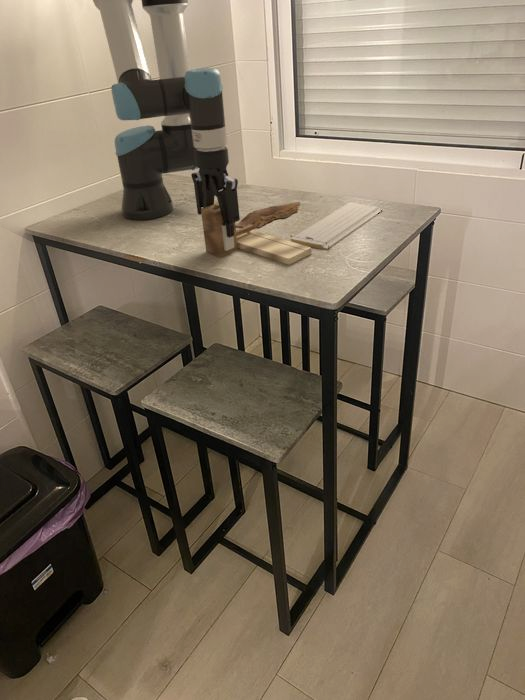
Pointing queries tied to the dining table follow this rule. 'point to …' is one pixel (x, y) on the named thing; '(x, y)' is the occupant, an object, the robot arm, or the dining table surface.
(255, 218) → the wooden fragment
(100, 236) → the dining table surface
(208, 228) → the block
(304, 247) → the board
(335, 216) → the baseboard molding
